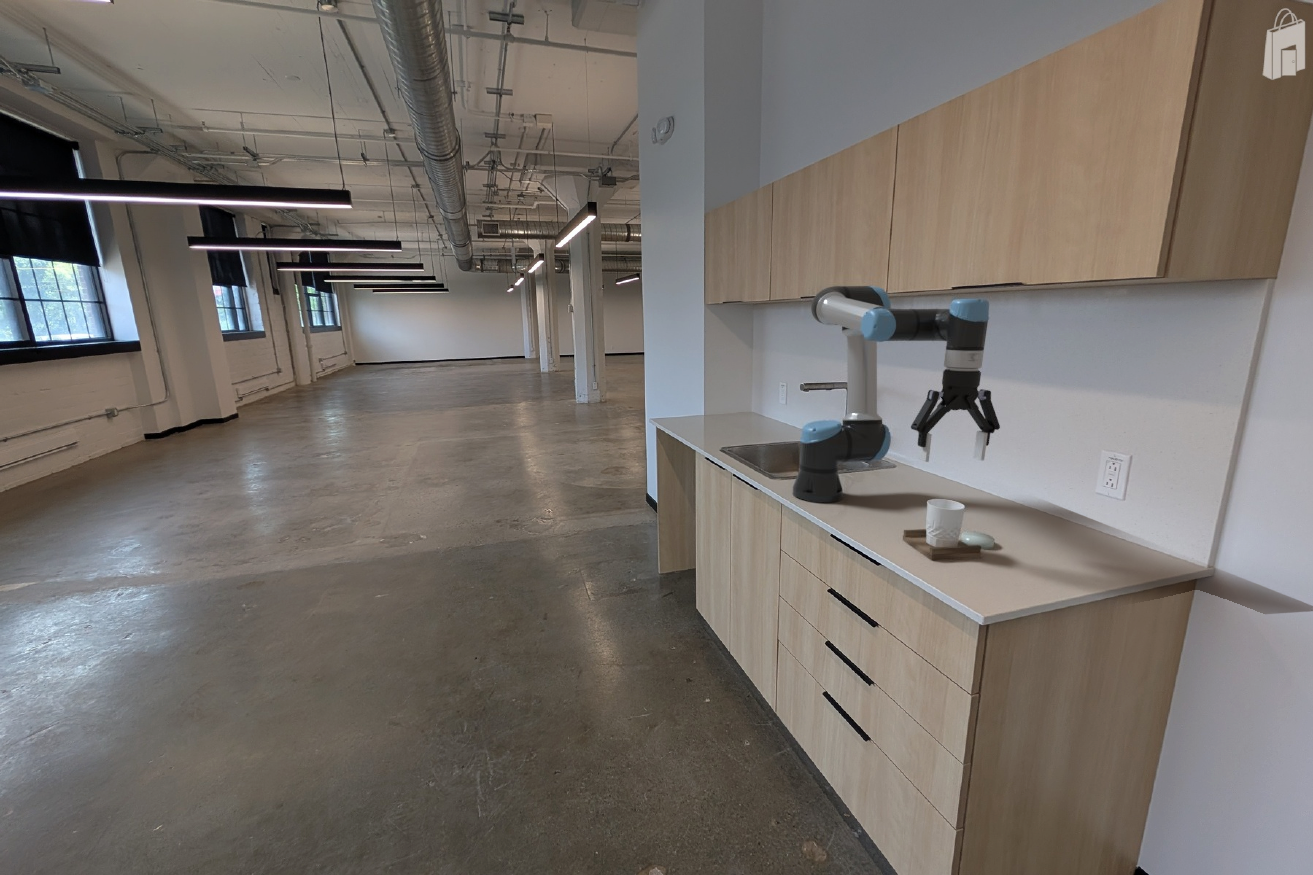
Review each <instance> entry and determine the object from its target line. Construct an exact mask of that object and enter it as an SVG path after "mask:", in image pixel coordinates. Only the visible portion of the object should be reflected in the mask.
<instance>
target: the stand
mask: <svg viewBox="0 0 1313 875" xmlns="http://www.w3.org/2000/svg"><path fill="white" fill-rule="evenodd" d="M902 541H903V542H905V543H906V544H907V545H909V546H910V547H912V548H913V549H915V550H916V551H917V552H919V553H920V554H922V555H923V556H924V557H926V558H928V559H929V560H930V561H944V560H962V559H981V556H982V552H981V551H982V549H981V546H979V545H972V546H969V545H967V544H965V543H963V542H962V541H961V539H959V540H958V546H951V547H934V546H931V545H929V544H928V543H927V542H926V528H923V529H922V528H919V529H904V530H903V535H902Z"/></svg>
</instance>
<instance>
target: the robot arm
mask: <svg viewBox="0 0 1313 875" xmlns="http://www.w3.org/2000/svg"><path fill="white" fill-rule="evenodd" d="M810 309H811V310H810V311H811V314H812V316H813V318H814V319H815V320H816V321H817V322H819V323H821V324H823V325H826V326H840V327H841V333H842V334H843V335H844V336H846V338H847V339H846V343H847V345H846V347H847V349H846V352H847V353H846V354H847V355H846V356H847V360H846V361H847V364H846V365H847V367H846V368H847V370H846V372H847V378H846V379H847V385H846V386H847V414H846V415H845V416H844V417H843V418H842V423H841V421H838V420H833V419H829V420H825V419H824V420H817V421H811V422H808V423H806V424H805V425H804V426H803V427H802V429H801V435H800V439H799V440H800V449H799V451H800V454H799V469H798V473H797V475H796V477H795V480H794V483H793V486H792V495H793V497H795V498H797V497H798V498H797V499H799V498H800V500H802V499H804V500H803V501H806V500H807V501H806V502H811V501H812V502H813V503H822V502H826V503H835V502H839V501H841V500H842V499H843V496H844V494H843V493H844V489H843V486H842V482H841V479H840V475H839V474H840V473H839V469H840V467H839V466H840V464H842V463H863V462H864V463H870V462H879V461H880V460H882V459H883V458H885V457H886V455H887V454H888V452H889V450H890V447H891V439H892V436H891V432H890V428H889V427H888V426H887V425H886V424H884V423H883V417H881V416H880V415H879V414H878V342H879V343H881V342H882V343H883V342H905V341H906V342H946V346H945V353H944V360H943V361H944V362H943V367H944V368H946V369H944V370H943V372H942V380H941V384H942V389H941V391H938V390H934V389H929V390H928V391H927V396H926V399H925V401H924V402H923V405H922V406H921V408H920V410H919V411H918V413H917V415H916V417H915V419H914V420H913V422H912V424H911V425H910V429H911V430H914V431H916V432H918V438H917V446H918V447H919V456H918V459H919V460H921V461H922V462H925V463H928V462H929V461H930V452H931V444H932V436H933V435H932V434H931V433H930V431H931V430H932V429H933V428H934V427H935V426H936V425H937V424H938V423H939V422H940V420H941V419H942V418H944V416H945V415H946V414H948V413H949V412H951V411H959V410H961V411H967V412H968V413H969V415H970V417H971V418H972V419H973V421H974V422H975V424H976V425H977V426H978V428H979V429H980V430H977V431H976V437H975V441H974V442H975V443H974V452H973V459H977V460H978V461H985V455H986V448H987V446H989V444H990V437H991V434H995V431H997V430H998V431H999V429H1000V428H1001V426H1000V422H999V420H998V417H997V414H996V410H995V408H994V406H993V401H992V391H991V390H990V389H983V388H982V389H978V388H979V387H980V383H981V378H982V372H981V371H980V370H979V369H981V368H983V358H984V354H985V353H984V352H985V345H986V337H987V330H988V324H989V323H988V322H989V320H990V316H989V314H990V313H989V312H990V303H989V301H988V300H987V298H986V299H985V298H956V299H953V300H952V302H951V303H950V308H892V307H891V299H890V297H889V294H888V293H887V291H885V289H884V288H882V287H879V286H871V285H853V286H852V285H846V286H845V285H843V286H842V285H835V286H834V285H833V286H829V287H826V288H824V289H823V288H822V290H820V291H819V292H818V293H817V294H815V296H814V297H813V300H812V301H811V305H810ZM977 399H978V400H979V404H980V407H981V410H982V412H981V410H980V408H979V406H978V405H977V403H976V402H975V401H976V400H977ZM940 400H941V401H940ZM938 401H940V402H939V403H938ZM934 409H935V410H934ZM982 413H983V414H982Z"/></svg>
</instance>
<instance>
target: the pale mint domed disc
mask: <svg viewBox="0 0 1313 875" xmlns="http://www.w3.org/2000/svg"><path fill="white" fill-rule="evenodd" d="M960 541H962V542H963V543H965V544H967V545H969V546H972V545H979V546H981V550H991V549H993V548H995V547H994V546H995V537H993V536H991V535H989V534H986V533H985V532H979V531H969V530H968V531H964V532H962V533H961V534H960Z"/></svg>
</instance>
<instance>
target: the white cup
mask: <svg viewBox="0 0 1313 875" xmlns="http://www.w3.org/2000/svg"><path fill="white" fill-rule="evenodd" d="M965 509H966V506H965V504H963V503H961V502H959V501H955V500H951V499H945V498H944V499H943V498H942V499H941V498H932V499H929V500H927V501H926V515H925V516H926V519H925V529H926V542H927V543H928V544H929V545H931V546H934V547H951V546H958V540H960V539H959V538H960V536H961V531H962V527H963V520H964V514H965Z"/></svg>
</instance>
